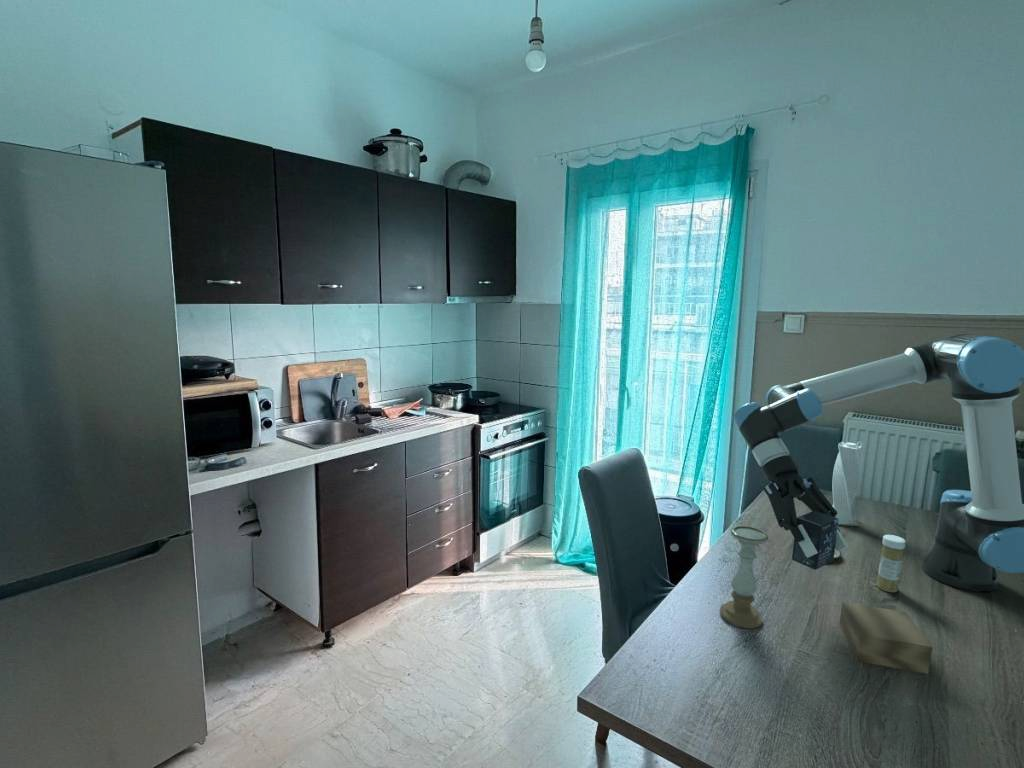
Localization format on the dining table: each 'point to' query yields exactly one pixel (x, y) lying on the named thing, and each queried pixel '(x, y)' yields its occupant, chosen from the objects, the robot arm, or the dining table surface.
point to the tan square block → (885, 637)
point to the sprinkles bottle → (890, 563)
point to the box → (817, 539)
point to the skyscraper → (846, 481)
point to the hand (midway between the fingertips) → (827, 551)
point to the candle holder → (744, 580)
